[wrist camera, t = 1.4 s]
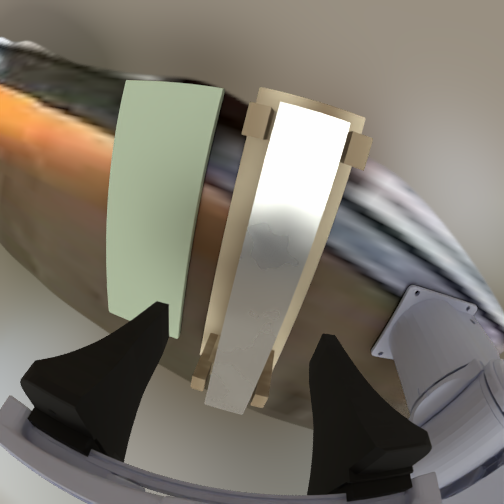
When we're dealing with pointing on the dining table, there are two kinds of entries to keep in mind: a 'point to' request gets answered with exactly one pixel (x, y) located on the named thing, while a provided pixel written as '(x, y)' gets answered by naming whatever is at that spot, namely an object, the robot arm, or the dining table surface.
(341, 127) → the rail
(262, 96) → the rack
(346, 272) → the dining table surface
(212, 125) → the mat
